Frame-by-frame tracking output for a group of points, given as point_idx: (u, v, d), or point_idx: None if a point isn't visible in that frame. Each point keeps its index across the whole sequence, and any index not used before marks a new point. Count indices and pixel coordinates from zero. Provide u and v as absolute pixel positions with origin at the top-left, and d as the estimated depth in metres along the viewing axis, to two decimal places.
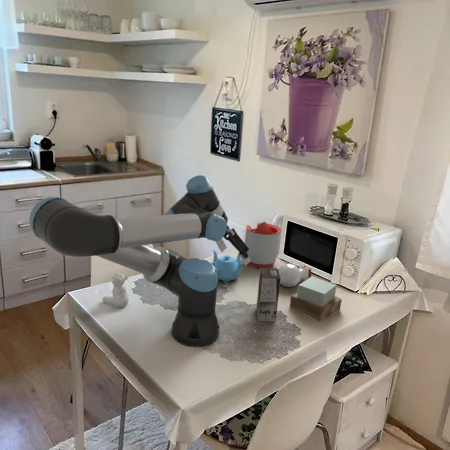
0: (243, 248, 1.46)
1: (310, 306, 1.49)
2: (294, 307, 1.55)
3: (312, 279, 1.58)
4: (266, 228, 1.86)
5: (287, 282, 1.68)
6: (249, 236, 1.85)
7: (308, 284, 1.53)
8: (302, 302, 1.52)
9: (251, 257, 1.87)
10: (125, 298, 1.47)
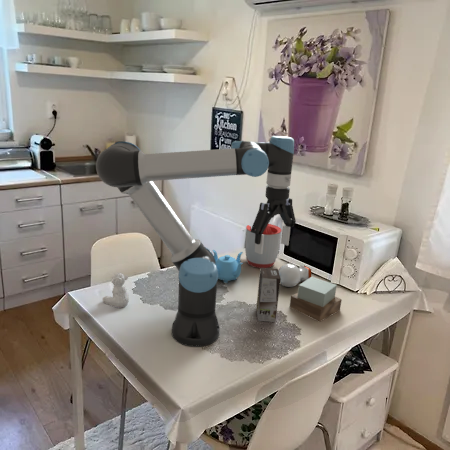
0: (254, 226, 1.33)
1: (310, 306, 1.49)
2: (294, 307, 1.55)
3: (312, 279, 1.58)
4: (266, 228, 1.86)
5: (287, 282, 1.68)
6: (249, 236, 1.85)
7: (308, 284, 1.53)
8: (302, 302, 1.52)
9: (251, 257, 1.87)
10: (125, 298, 1.47)
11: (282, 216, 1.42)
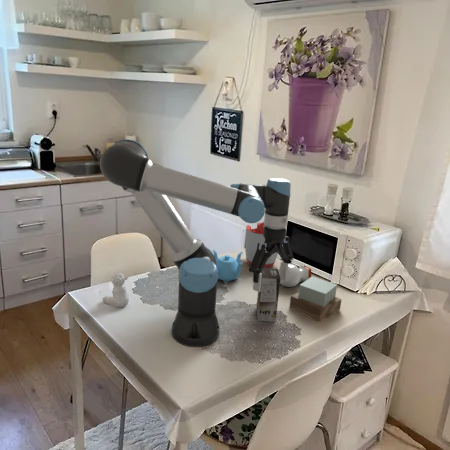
0: (252, 266, 1.37)
1: (310, 306, 1.49)
2: (294, 307, 1.55)
3: (313, 279, 1.58)
4: None
5: (287, 282, 1.68)
6: (249, 236, 1.85)
7: (309, 284, 1.53)
8: (302, 302, 1.51)
9: (251, 257, 1.87)
10: (125, 298, 1.47)
11: (280, 253, 1.46)
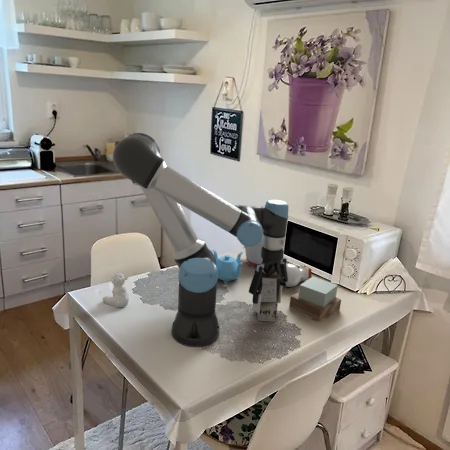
0: (251, 288, 1.40)
1: (309, 306, 1.49)
2: (293, 307, 1.54)
3: (313, 279, 1.58)
4: None
5: (287, 282, 1.68)
6: None
7: (309, 284, 1.53)
8: (301, 302, 1.51)
9: (251, 257, 1.87)
10: (125, 298, 1.47)
11: None
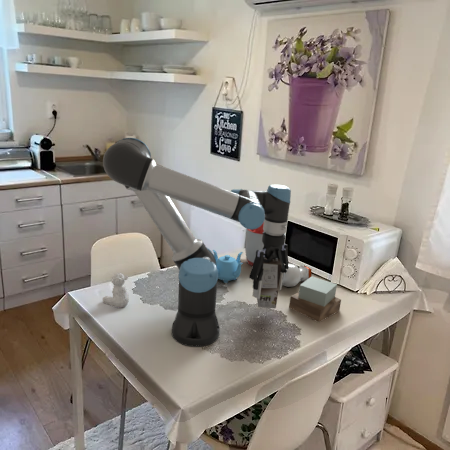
0: (252, 273, 1.39)
1: (309, 306, 1.49)
2: (293, 307, 1.54)
3: (312, 279, 1.58)
4: None
5: (287, 282, 1.68)
6: (249, 236, 1.85)
7: (309, 284, 1.53)
8: (301, 302, 1.51)
9: (251, 257, 1.87)
10: (125, 298, 1.47)
11: None
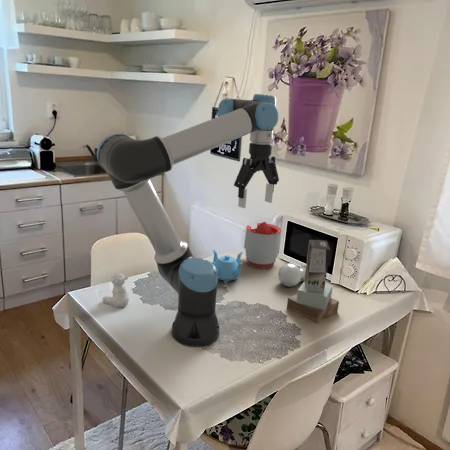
0: (237, 180, 1.40)
1: (307, 309, 1.48)
2: (291, 309, 1.53)
3: None
4: (266, 228, 1.86)
5: (288, 282, 1.69)
6: (249, 236, 1.85)
7: None
8: (299, 304, 1.50)
9: (251, 257, 1.87)
10: (125, 298, 1.47)
11: (265, 173, 1.48)
